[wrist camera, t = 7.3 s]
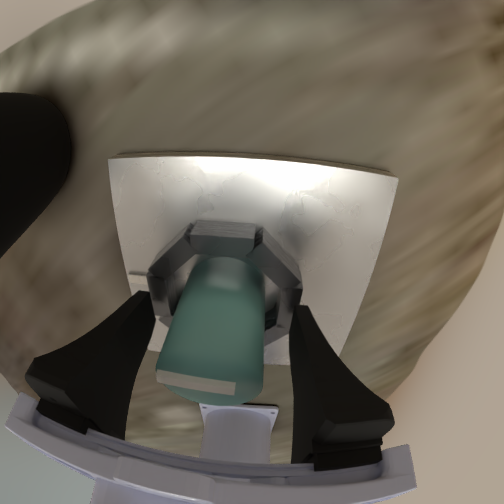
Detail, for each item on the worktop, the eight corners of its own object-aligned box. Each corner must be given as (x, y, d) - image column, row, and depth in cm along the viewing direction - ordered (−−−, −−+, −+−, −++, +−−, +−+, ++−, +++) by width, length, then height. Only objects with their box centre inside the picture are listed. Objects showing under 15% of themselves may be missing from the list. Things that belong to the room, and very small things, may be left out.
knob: (271, 262, 14) (271, 365, 9) (259, 322, 16) (255, 415, 11) (186, 252, 14) (145, 345, 9) (188, 312, 16) (161, 401, 11)
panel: (332, 353, 20) (337, 381, 17) (153, 338, 20) (142, 365, 18) (389, 171, 12) (412, 188, 10) (119, 153, 13) (91, 167, 10)
